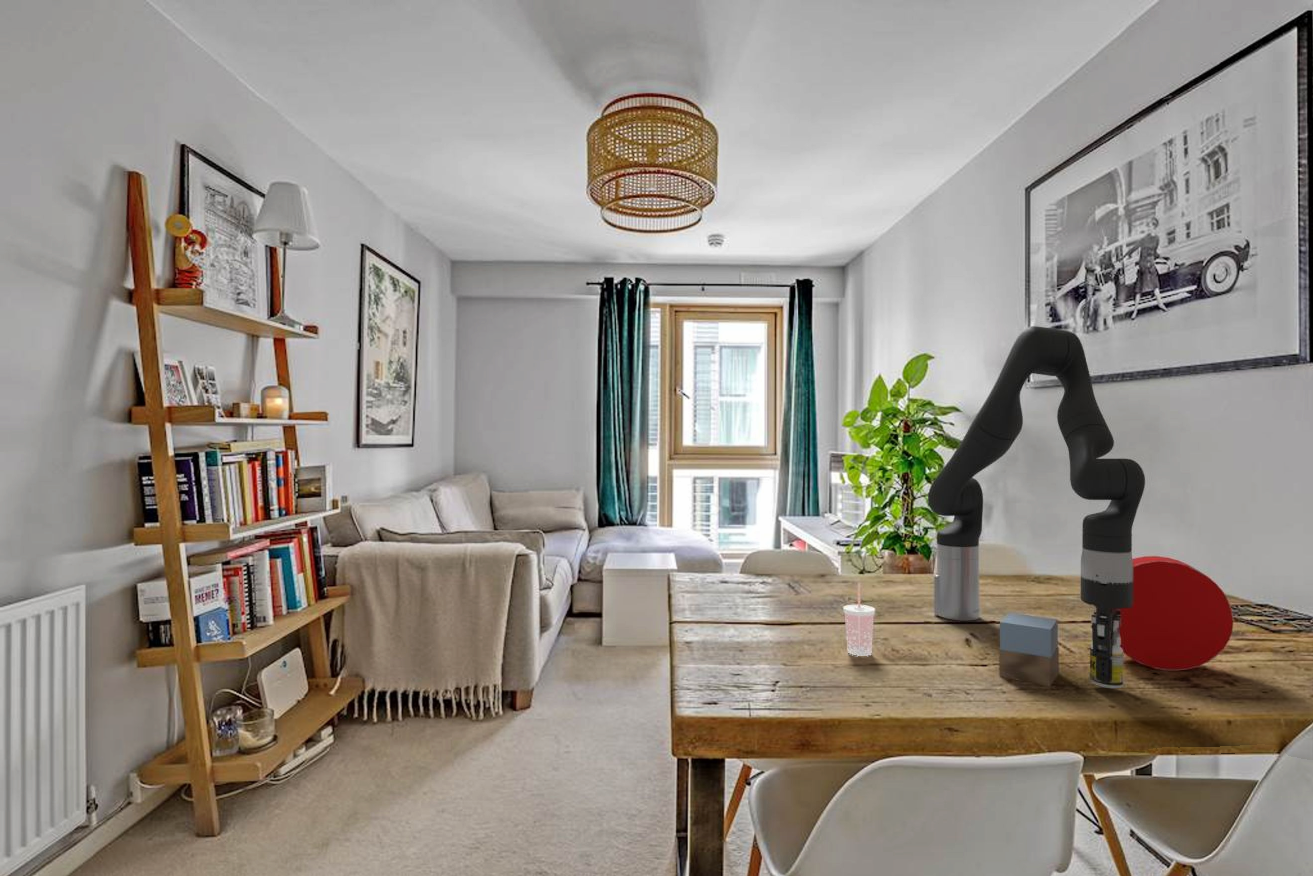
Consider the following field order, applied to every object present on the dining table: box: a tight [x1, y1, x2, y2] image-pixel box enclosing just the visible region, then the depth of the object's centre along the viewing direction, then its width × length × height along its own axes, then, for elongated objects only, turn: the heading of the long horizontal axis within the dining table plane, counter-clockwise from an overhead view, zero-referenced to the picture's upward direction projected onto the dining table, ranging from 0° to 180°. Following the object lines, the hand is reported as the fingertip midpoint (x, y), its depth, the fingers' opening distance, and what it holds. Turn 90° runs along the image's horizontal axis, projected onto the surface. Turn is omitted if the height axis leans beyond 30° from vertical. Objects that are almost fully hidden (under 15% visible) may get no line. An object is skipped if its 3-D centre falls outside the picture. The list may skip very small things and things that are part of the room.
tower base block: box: [998, 646, 1060, 687], centre depth 124 cm, size 8×8×5 cm
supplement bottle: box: [1089, 635, 1124, 689], centre depth 117 cm, size 5×5×8 cm
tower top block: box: [999, 612, 1059, 658], centre depth 124 cm, size 8×8×5 cm
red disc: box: [1117, 555, 1234, 671], centre depth 129 cm, size 20×6×20 cm, turn 66°
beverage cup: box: [842, 582, 876, 657], centre depth 137 cm, size 6×6×14 cm
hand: (1106, 675), depth 117 cm, fingers closed on supplement bottle, 4 cm apart
